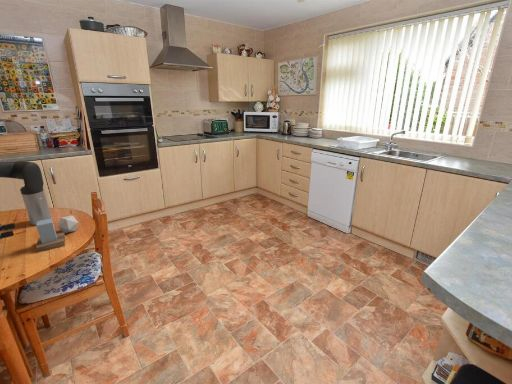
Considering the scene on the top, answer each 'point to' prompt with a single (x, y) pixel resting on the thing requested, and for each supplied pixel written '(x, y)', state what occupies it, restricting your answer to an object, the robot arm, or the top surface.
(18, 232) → the top surface
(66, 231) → the die
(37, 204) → the robot arm
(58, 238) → the walnut base
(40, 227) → the gray block
